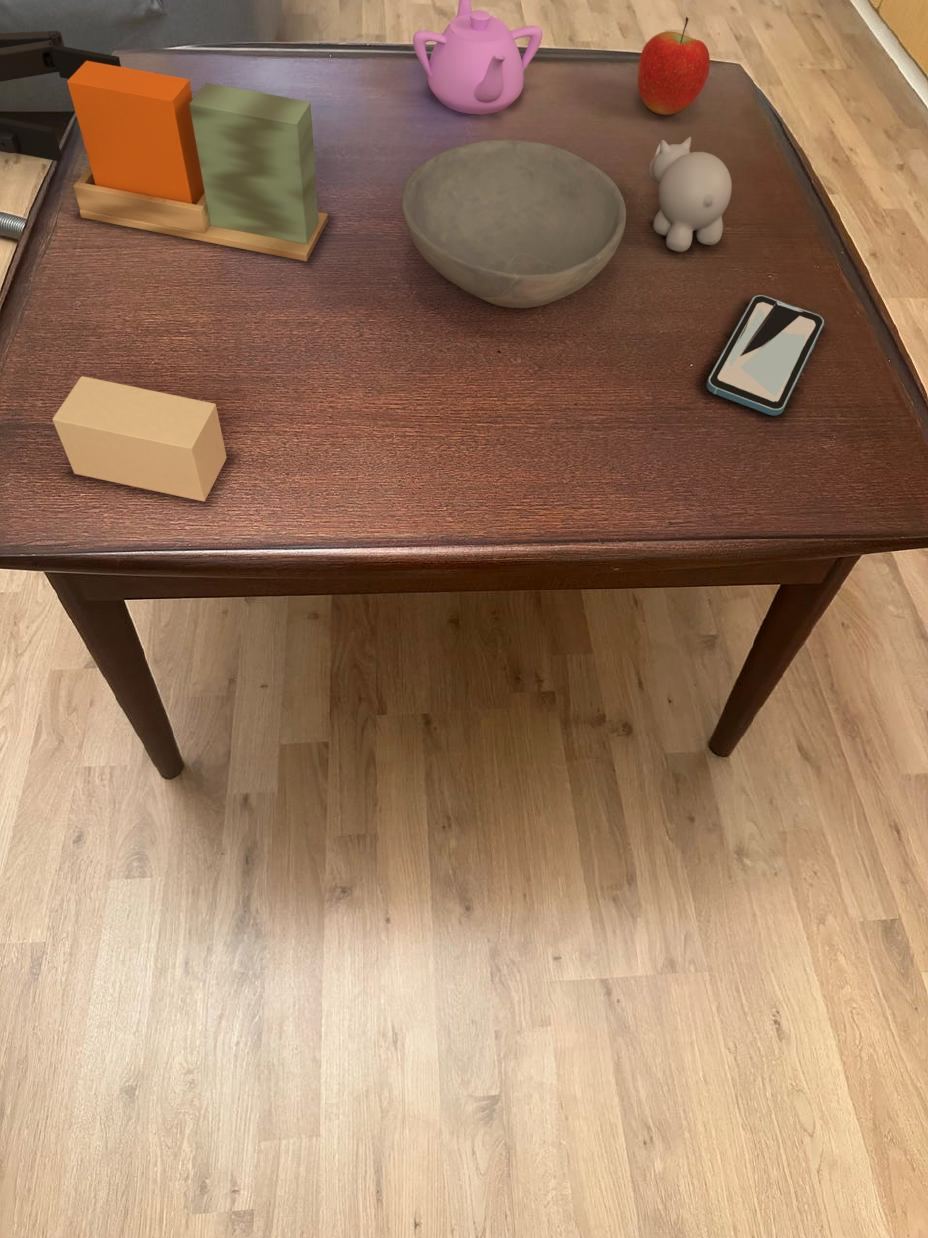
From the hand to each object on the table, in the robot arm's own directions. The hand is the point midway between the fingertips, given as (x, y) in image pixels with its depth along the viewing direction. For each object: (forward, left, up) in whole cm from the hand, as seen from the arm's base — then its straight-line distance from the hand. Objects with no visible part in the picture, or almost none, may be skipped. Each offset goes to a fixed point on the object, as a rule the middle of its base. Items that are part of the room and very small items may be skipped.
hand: (90, 107), depth 88 cm
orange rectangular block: (+4, -2, -9) cm, 10 cm away
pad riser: (+2, -37, -10) cm, 39 cm away
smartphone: (+58, -33, -10) cm, 68 cm away
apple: (+64, +11, -10) cm, 66 cm away
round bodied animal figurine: (+57, -11, -10) cm, 59 cm away
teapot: (+42, +17, -10) cm, 46 cm away
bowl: (+37, -17, -10) cm, 42 cm away
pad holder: (+9, -4, -10) cm, 14 cm away
